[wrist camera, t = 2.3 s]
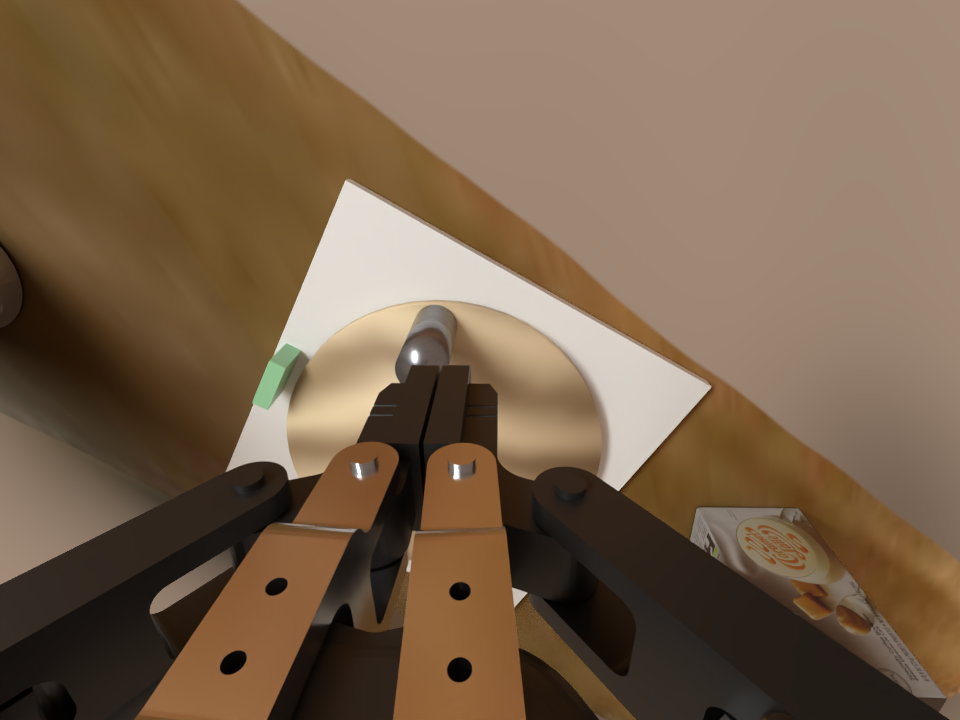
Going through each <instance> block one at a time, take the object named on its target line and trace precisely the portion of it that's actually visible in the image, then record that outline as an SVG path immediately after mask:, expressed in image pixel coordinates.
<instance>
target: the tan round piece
mask: <svg viewBox="0 0 960 720" xmlns="http://www.w3.org/2000/svg"><path fill="white" fill-rule="evenodd" d="M412 365H440V367H441V369H442V366H443V365H470V366H471V383H476V384H491V386H492V387H493V388H494V390H495V391H496V392H497V393H498V455H497V457H498V460H499V462H500V463H501V465H502V466H503V467H504V468H505V469H506V470H508V471H509V472H511V473H513V474H515V475H517V476H519V477H523V478H526V479H530V480H535V479H536V477H537V476H538V475H539V474H540V473H542V472H544V471H546V470H548V469H551V468H555V467H575V468H580V469H583V470H586V471H588V472H591V473H592V474H594V475H596V476H597V473H598V469H599V464H600V459H601V448H602V436H601V428H600V420H599V417H598V413H597V410H596V407H595V403H594V400H593V397H592V395H591V393H590V390H589V388H588V386H587V384H586V382H585V380H584V378H583V377H582V375H581V374H580V372H579V371H578V369H577V368H576V366H575V365H574V363H573V362H572V361H571V360H570V359H569V358H568V356H567V355H566V354H565V353H564V352H563V351H562V350H561V349H560V348H559V347H558V346H557V345H556V344H555V343H553V342H552V341H551V340H550V339H549V338H547V337H546V336H545V335H544V334H542V333H541V332H539V331H538V330H536V329H535V328H533V327H531V326H530V325H528V324H527V323H525V322H523V321H521V320H519V319H517V318H515V317H512V316H510V315H508V314H506V313H504V312H501V311H498V310H494V309H491V308H488V307H485V306H482V305H477V304H471V303H466V302H461V301H447V300H426V301H412V302H407V303H402V304H397V305H392V306H389V307H386V308H383V309H380V310H377V311H374V312H371V313H369V314H367V315H365V316H363V317H361V318H358V319H356V320H354V321H352V322H351V323H349V324H348V325H346V326H345V327H344V328H342V329H341V330H339V331H338V332H336V333H335V334H334V335H333V336H332V337H331V338H330V339H328V340H327V341H326V342H325V343H324V344H323V345H322V346H321V347H320V348H319V350H318V351H317V352H316V353H315V355H314V356H313V357H312V358H311V360H310V361H309V362H308V364H307V365H306V366H305V368H304V369H303V371H302V373H301V375H300V377H299V378H298V380H297V382H296V384H295V387H294V390H293V393H292V396H291V398H290V402H289V408H288V414H287V440H288V447H289V452H290V456H291V459H292V462H293V466H294V468H295V471H296V473H297V475H298V477H299V478H302V477H307V476H312V475H317V474H321V473H324V471H325V469H326V468H327V466H328V465H329V463H330V461H331V460H332V458H333V457H334V456H335V455H336V454H337V453H338V452H340V451H341V450H343V449H344V448H346V447H349V446H351V445H354V444H356V443H357V440H358V438H359V436H360V434H361V432H362V429H363V427H364V425H365V423H366V421H367V418H368V416H370V412H371V409H372V407H374V403H375V401H376V398H377V396H378V394H379V392H381V391H382V390H383V389H385V388H386V387H387V386H388V385H390V384H391V383H405V381H406V379H407V376H408V373H409V371H410V368H411V366H412ZM415 532H416V531H412V535H411V540H410V544H409V547H408V549H409V560H410V561H411V560H412V552H413V543H414V536H415Z"/></svg>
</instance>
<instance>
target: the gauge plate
mask: <svg viewBox="0 0 960 720" xmlns="http://www.w3.org/2000/svg"><path fill="white" fill-rule="evenodd" d="M426 300H447V301H461V302H466V303H471V304H477V305H482V306H485V307H488V308H491V309H494V310H498V311H501V312H504V313H506V314H508V315H510V316H512V317H515V318H517V319H519V320H521V321H523V322H525V323H527V324H528V325H530V326H531V327H533V328H535V329H536V330H538V331H539V332H541V333H542V334H544V335H545V336H546V337H547V338H549V339H550V340H551V341H552V342H553V343H555V344H556V345H557V346H558V347H559V348H560V349H561V350H562V351H563V352H564V353H565V354H566V355H567V356H568V358H569V359H570V360H571V361H572V362H573V363H574V365H575V366H576V368H577V369H578V371H579V372H580V374H581V375H582V377H583V378H584V380H585V382H586V384H587V386H588V388H589V390H590V393H591V395H592V397H593V400H594V403H595V407H596V410H597V413H598V417H599V420H600V428H601V436H602V448H601V459H600V464H599V469H598V473H597V477H599V478H600V479H601V480H603V481H604V482H606V483H607V484H609V485H610V486H612V487H613V488H614V489H616V490H617V491H619V490H620V489H621V488H622V487H623V486H624V484H625V483H626V482H627V481H628V480H629V479H630V478H631V477H632V476H633V474H634V473H635V472H636V471H637V470H638V469H639V468H640V467H641V465H642V464H643V463H644V462H645V461H646V460H647V459H648V458H649V457H650V455H651V454H652V453H653V452H654V451H655V450H656V449H657V448H658V446H659V445H660V444H661V443H662V442H663V441H664V440H665V439H666V438H667V436H668V435H669V434H670V433H671V432H672V431H673V430H674V429H675V427H676V426H677V425H678V424H679V423H680V422H681V421H682V420H683V419H684V417H685V416H686V415H687V414H688V413H689V412H690V411H691V410H692V408H693V407H694V406H695V405H696V404H697V403H698V402H699V401H700V400H701V398H702V397H703V396H704V395H705V394H706V393H707V392H708V391H709V390H710V388H711V385H710V384H709V383H708V382H707V380H705V379H703V378H701V377H699V376H698V375H696V374H694V373H692V372H691V371H689V370H687V369H685V368H684V367H682V366H680V365H678V364H677V363H675V362H673V361H671V360H669V359H668V358H666V357H664V356H662V355H661V354H659V353H657V352H655V351H654V350H652V349H650V348H648V347H646V346H645V345H643V344H641V343H639V342H638V341H636V340H634V339H632V338H631V337H629V336H627V335H625V334H624V333H622V332H620V331H618V330H616V329H615V328H613V327H611V326H609V325H608V324H606V323H604V322H602V321H601V320H599V319H597V318H595V317H594V316H592V315H590V314H588V313H586V312H585V311H583V310H581V309H579V308H578V307H576V306H574V305H572V304H571V303H569V302H567V301H565V300H563V299H562V298H560V297H558V296H556V295H555V294H553V293H551V292H549V291H548V290H546V289H544V288H542V287H541V286H539V285H537V284H535V283H533V282H532V281H530V280H528V279H526V278H525V277H523V276H521V275H519V274H518V273H516V272H514V271H512V270H510V269H509V268H507V267H505V266H503V265H502V264H500V263H498V262H496V261H495V260H493V259H491V258H489V257H488V256H486V255H484V254H482V253H480V252H479V251H477V250H475V249H473V248H472V247H470V246H468V245H466V244H465V243H463V242H461V241H459V240H458V239H456V238H454V237H452V236H450V235H449V234H447V233H445V232H443V231H442V230H440V229H438V228H436V227H435V226H433V225H431V224H429V223H427V222H426V221H424V220H422V219H420V218H419V217H417V216H415V215H413V214H412V213H410V212H408V211H406V210H405V209H403V208H401V207H399V206H397V205H396V204H394V203H392V202H390V201H389V200H387V199H385V198H383V197H382V196H380V195H378V194H376V193H374V192H373V191H371V190H369V189H367V188H366V187H364V186H362V185H360V184H359V183H357V182H355V181H353V180H352V179H347V180H345V183H344V185H343V188H342V190H341V193H340V195H339V197H338V200H337V202H336V205H335V207H334V210H333V212H332V215H331V217H330V219H329V222H328V224H327V227H326V229H325V232H324V234H323V236H322V239H321V241H320V244H319V246H318V249H317V251H316V253H315V256H314V258H313V261H312V263H311V266H310V268H309V271H308V273H307V275H306V278H305V280H304V283H303V285H302V288H301V290H300V292H299V295H298V297H297V300H296V302H295V305H294V307H293V310H292V312H291V314H290V317H289V319H288V322H287V324H286V327H285V329H284V331H283V334H282V336H281V339H280V341H279V344H278V346H277V348H276V351H275V353H274V356H273V357H272V358H271V359H270V360H269V363H268V365H267V368H266V370H265V372H264V375H263V377H262V380H261V382H260V385H259V387H258V390H257V392H256V394H255V397H254V399H253V402H252V403H253V404H254V405H253V407H252V409H251V412H250V414H249V417H248V419H247V422H246V424H245V426H244V429H243V431H242V434H241V436H240V439H239V441H238V444H237V446H236V448H235V451H234V453H233V456H232V458H231V461H230V463H229V465H228V468H227V470H226V472H228V471H230V470H232V469H234V468H236V467H238V466H241V465H244V464H248V463H252V462H259V461H269V462H275V463H278V464H280V465H282V466H283V467H284V468H285V469H286V471H287V475H288V479H289V480H292V479H297V478H299V477H298V475H297V473H296V471H295V468H294V466H293V462H292V459H291V456H290V452H289V447H288V440H287V414H288V408H289V402H290V398H291V396H292V393H293V390H294V387H295V384H296V382H297V380H298V378H299V377H300V375H301V373H302V371H303V369H304V368H305V366H306V365H307V364H308V362H309V361H310V360H311V358H312V357H313V356H314V355H315V353H316V352H317V351H318V350H319V348H320V347H321V346H322V345H323V344H324V343H325V342H326V341H327V340H328V339H330V338H331V337H332V336H333V335H334V334H335V333H336V332H338V331H339V330H341V329H342V328H344V327H345V326H346V325H348V324H349V323H351V322H352V321H354V320H356V319H358V318H361V317H363V316H365V315H367V314H369V313H371V312H374V311H377V310H380V309H383V308H386V307H389V306H392V305H397V304H402V303H407V302H412V301H426ZM410 569H411V561H410V560H409V562H408V566H407V569H406V571H408V572H410ZM512 592H513V601H514V607H515V606H516V605H517V604H518V603H519V602H520V601H521V599H522V598H523V597H524V596H525V595H526V594H527V592H524V591H521V590H518V589H515V588H512Z"/></svg>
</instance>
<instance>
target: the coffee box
mask: <svg viewBox="0 0 960 720" xmlns="http://www.w3.org/2000/svg"><path fill="white" fill-rule="evenodd" d="M690 541H691V542H693V543H694V544H696V545H697V546H699V547H700V548H701V549H703V550H704V551H706V552H707V553H709V554H710V555H712V556H713V557H714V558H716V559H717V560H719V561H720V562H722V563H723V564H725V565H726V566H727V567H729V568H730V569H732V570H733V571H735V572H736V573H738V574H739V575H741V576H742V577H743V578H745V579H746V580H748V581H749V582H751V583H752V584H754V585H755V586H756V587H758V588H759V589H761V590H762V591H764V592H765V593H767V594H768V595H769V596H771V597H772V598H774V599H775V600H777V601H778V602H780V603H781V604H783V605H784V606H785V607H787V608H788V609H790V610H791V611H793V612H794V613H796V614H797V615H798V616H800V617H801V618H803V619H804V620H806V621H807V622H809V623H810V624H811V625H813V626H814V627H816V628H817V629H819V630H820V631H822V632H823V633H825V634H826V635H827V636H829V637H830V638H832V639H833V640H835V641H836V642H838V643H839V644H840V645H842V646H843V647H845V648H846V649H848V650H849V651H851V652H852V653H853V654H855V655H856V656H858V657H859V658H861V659H862V660H864V661H865V662H867V663H868V664H869V665H871V666H872V667H874V668H875V669H877V670H878V671H880V672H881V673H882V674H884V675H885V676H887V677H888V678H890V679H891V680H893V681H894V682H895V683H897V684H898V685H900V686H901V687H903V688H904V689H906V690H907V691H909V692H910V693H911V694H913V695H914V696H916V697H917V698H919V699H920V700H922V701H923V702H924V703H926V704H927V705H929V706H930V707H932V708H933V709H935V710H936V711H938V712H939V711H940V709H941V708H942V706H943V705H944V703H945V701H946V700H947V697H946V696H945V695H944V694H943V692H942V691H941V690H940V688H939V687H938V686H937V684H936V683H935V682H934V681H933V679H932V678H931V677H930V675H929V674H928V673H927V672H926V670H925V669H924V668H923V667H922V665H921V664H920V663H919V662H918V660H917V659H916V658H915V657H914V655H913V654H912V653H911V651H910V650H909V649H908V648H907V646H906V645H905V644H904V642H903V641H902V640H901V639H900V637H899V636H898V635H897V634H896V632H895V631H894V630H893V628H892V627H891V626H890V625H889V623H888V622H887V621H886V619H885V618H884V617H883V616H882V614H881V613H880V612H879V610H878V609H877V608H876V607H875V605H874V604H873V603H872V601H871V600H870V599H869V598H868V596H867V595H866V594H865V592H864V591H863V590H862V589H861V587H860V586H859V585H858V584H857V582H856V581H855V580H854V578H853V577H852V576H851V575H850V573H849V572H848V571H847V569H846V568H845V567H844V566H843V564H842V563H841V562H840V561H839V559H838V558H837V557H836V555H835V554H834V553H833V551H832V550H831V549H830V548H829V546H828V545H827V544H826V542H825V541H824V540H823V539H822V538H821V536H820V535H819V534H818V532H817V531H816V530H815V529H814V527H813V526H812V525H811V523H810V522H809V521H808V520H807V518H806V517H805V516H804V514H803V513H802V512H801V511H800V510H799V509H798V508H726V507H699V508H697V510H696V514H695V519H694V524H693V529H692V533H691V538H690Z"/></svg>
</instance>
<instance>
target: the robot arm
mask: <svg viewBox="0 0 960 720" xmlns="http://www.w3.org/2000/svg"><path fill="white" fill-rule="evenodd" d="M21 305H22V287H21V283H20V278H19V276H18V274H17V272H16V269H15V267H14V265H13V263H12V262H11V260H10V259H9V257H8V256H7V254H6V253H5V252H4V250H3V249H2V248H1V247H0V328H2V327H4V326H6V325H8V324H9V323H10V322H12V321H13V320H14V319H15V318H16V316H17V315H18V313H19V312H20V308H21ZM497 455H498V393H497V392H496V391H495V390H494V388H493V387H492V386H491V384H476V383H471V366H470V365H443V366H442V369H441V367H440V365H412V366H411V368H410V371H409V373H408V376H407V379H406V381H405V383H391V384H390V385H388V386H387V387H386V388H385V389H383V390H382V391H381V392H379V394H378V396H377V398H376V401H375V403H374V407H372V409H371V412H370V416H368V418H367V421H366V423H365V425H364V427H363V429H362V432H361V434H360V436H359V438H358V440H357V443H356V444H354V445H351V446H349V447H346V448H344V449H343V450H341V451H340V452H338V453H337V454H336V455H335V456H334V457H333V458H332V460H331V461H330V463H329V465H328V466H327V468H326V469H325V471H324V473H321V474H317V475H312V476H307V477H302V478H297V479H292V480H289V479H288V475H287V471H286V469H285V468H284V467H283V466H282V465H280V464H278V463H275V462H269V461H259V462H252V463H248V464H244V465H241V466H238V467H236V468H234V469H232V470H230V471H228V472H226V473H223V474H221V475H219V476H217V477H215V478H213V479H211V480H209V481H207V482H205V483H203V484H201V485H199V486H197V487H195V488H193V489H191V490H189V491H187V492H185V493H183V494H181V495H179V496H177V497H175V498H173V499H171V500H169V501H167V502H165V503H163V504H161V505H159V506H158V507H155V508H153V509H151V510H149V511H147V512H145V513H144V514H141V515H139V516H137V517H135V518H133V519H131V520H129V521H127V522H125V523H123V524H121V525H119V526H117V527H115V528H113V529H111V530H109V531H107V532H105V533H103V534H101V535H100V536H97V537H95V538H93V539H92V540H89V541H87V542H85V543H83V544H81V545H79V546H77V547H75V548H73V549H71V550H69V551H67V552H65V553H63V554H61V555H59V556H57V557H55V558H53V559H51V560H49V561H47V562H45V563H43V564H41V565H39V566H37V567H35V568H33V569H31V570H29V571H27V572H25V573H23V574H21V575H19V576H17V577H15V578H13V579H11V580H9V581H7V582H5V583H3V584H1V585H0V720H599V719H598V718H597V717H596V715H595V714H594V713H593V712H592V710H591V709H590V708H589V707H588V705H587V704H586V703H585V702H584V701H583V699H582V698H581V697H580V696H579V694H578V693H577V692H576V691H575V690H574V688H573V687H572V686H571V685H570V684H569V683H568V682H567V681H566V680H565V679H564V678H563V677H562V676H561V675H560V674H559V673H558V672H557V671H556V670H554V669H553V668H552V667H550V666H549V665H548V664H546V663H545V662H544V661H542V660H541V659H539V658H537V657H536V656H534V655H532V654H531V653H529V652H527V651H525V650H523V649H520V648H518V639H517V630H516V620H515V611H514V601H513V592H512V588H515V589H518V590H521V591H524V592H527V593H528V594H529V599H530V602H531V604H532V606H533V607H534V608H535V610H536V611H537V612H538V613H539V614H540V615H541V616H542V618H543V619H544V620H545V621H546V622H547V623H548V624H549V625H550V626H551V627H552V628H553V629H554V631H555V632H556V633H557V634H558V635H559V636H560V637H561V638H562V639H563V640H564V641H565V643H566V644H567V645H568V646H569V647H570V648H571V649H572V650H573V651H574V652H575V653H576V654H577V656H578V657H579V658H580V659H581V660H582V661H583V662H584V663H585V664H586V665H587V666H588V667H589V669H590V670H591V671H592V672H593V673H594V674H595V675H596V676H597V677H598V678H599V679H600V681H601V682H602V683H603V684H604V685H605V686H606V687H607V688H608V689H609V690H610V691H611V692H612V694H613V695H614V696H615V697H616V698H617V699H618V700H619V701H620V702H621V703H622V704H623V705H624V707H625V708H626V709H627V710H628V711H629V712H630V713H631V714H632V715H633V716H634V717H635V718H636V720H949V719H948V718H946V717H945V716H943V715H942V714H940V713H939V712H938V711H936V710H935V709H933V708H932V707H930V706H929V705H927V704H926V703H924V702H923V701H922V700H920V699H919V698H917V697H916V696H914V695H913V694H911V693H910V692H909V691H907V690H906V689H904V688H903V687H901V686H900V685H898V684H897V683H895V682H894V681H893V680H891V679H890V678H888V677H887V676H885V675H884V674H882V673H881V672H880V671H878V670H877V669H875V668H874V667H872V666H871V665H869V664H868V663H867V662H865V661H864V660H862V659H861V658H859V657H858V656H856V655H855V654H853V653H852V652H851V651H849V650H848V649H846V648H845V647H843V646H842V645H840V644H839V643H838V642H836V641H835V640H833V639H832V638H830V637H829V636H827V635H826V634H825V633H823V632H822V631H820V630H819V629H817V628H816V627H814V626H813V625H811V624H810V623H809V622H807V621H806V620H804V619H803V618H801V617H800V616H798V615H797V614H796V613H794V612H793V611H791V610H790V609H788V608H787V607H785V606H784V605H783V604H781V603H780V602H778V601H777V600H775V599H774V598H772V597H771V596H769V595H768V594H767V593H765V592H764V591H762V590H761V589H759V588H758V587H756V586H755V585H754V584H752V583H751V582H749V581H748V580H746V579H745V578H743V577H742V576H741V575H739V574H738V573H736V572H735V571H733V570H732V569H730V568H729V567H727V566H726V565H725V564H723V563H722V562H720V561H719V560H717V559H716V558H714V557H713V556H712V555H710V554H709V553H707V552H706V551H704V550H703V549H701V548H700V547H699V546H697V545H696V544H694V543H693V542H691V541H690V540H688V539H687V538H685V537H684V536H683V535H681V534H680V533H678V532H677V531H675V530H674V529H672V528H671V527H670V526H668V525H667V524H665V523H664V522H662V521H661V520H659V519H658V518H656V517H655V516H654V515H652V514H651V513H649V512H648V511H646V510H645V509H643V508H642V507H641V506H639V505H638V504H636V503H635V502H633V501H632V500H630V499H629V498H628V497H626V496H625V495H623V494H622V493H620V492H619V491H617V490H616V489H614V488H613V487H612V486H610V485H609V484H607V483H606V482H604V481H603V480H601V479H600V478H599V477H597V476H596V475H594V474H592V473H591V472H588V471H586V470H583V469H580V468H575V467H555V468H551V469H548V470H546V471H544V472H542V473H540V474H539V475H538V476H537V477H536V479H535V480H530V479H526V478H523V477H519V476H517V475H515V474H513V473H511V472H509V471H508V470H506V469H505V468H504V467H503V466H502V465H501V463H500V462H499V460H498V457H497ZM412 531H416V532H415V536H414V543H413V552H412V560H411V569H410V578H409V586H408V595H407V603H406V612H405V621H404V627H401V628H397V629H392V630H388V629H389V626H390V622H391V619H392V616H393V612H394V609H395V606H396V602H397V599H398V596H399V592H400V589H401V586H402V582H403V579H404V576H405V572H406V569H407V566H408V562H409V549H408V547H409V544H410V540H411V535H412ZM225 550H227V551H228V554H229V557H230V560H231V564H232V567H231V568H229V569H228V570H226V571H225V572H223V573H222V574H220V575H218V576H217V577H215V578H214V579H212V580H211V581H209V582H207V583H206V584H204V585H203V586H201V587H200V588H198V589H196V590H195V591H193V592H192V593H190V594H189V595H187V596H185V597H184V598H182V599H181V600H179V601H178V602H176V603H174V604H173V605H171V606H170V607H168V608H167V609H165V610H163V611H161V612H159V613H155V614H150V610H149V609H150V605H151V603H152V601H153V599H154V598H155V596H156V595H157V594H158V593H159V592H160V591H161V590H162V589H163V588H164V587H166V586H167V585H169V584H170V583H172V582H174V581H175V580H177V579H178V578H180V577H182V576H184V575H185V574H187V573H188V572H190V571H192V570H194V569H195V568H197V567H198V566H200V565H202V564H203V563H205V562H207V561H208V560H210V559H211V558H213V557H215V556H217V555H218V554H220V553H222V552H223V551H225Z"/></svg>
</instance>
